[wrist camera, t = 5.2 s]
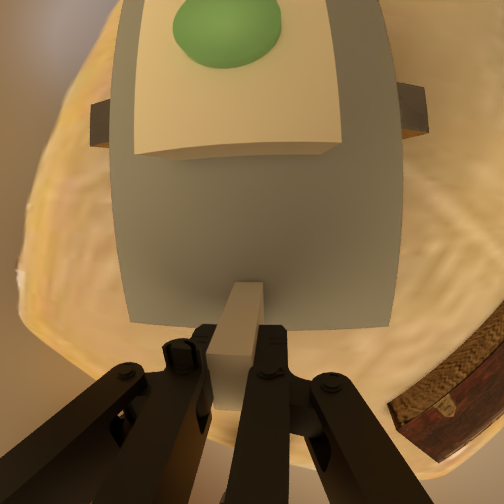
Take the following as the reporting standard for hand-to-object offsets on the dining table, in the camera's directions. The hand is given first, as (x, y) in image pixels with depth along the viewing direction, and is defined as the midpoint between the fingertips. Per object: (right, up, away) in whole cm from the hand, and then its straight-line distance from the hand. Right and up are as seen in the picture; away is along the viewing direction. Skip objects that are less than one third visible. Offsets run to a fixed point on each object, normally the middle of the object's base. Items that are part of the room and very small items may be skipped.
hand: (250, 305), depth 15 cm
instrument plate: (0, +11, -1) cm, 11 cm away
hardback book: (+33, -12, +10) cm, 37 cm away
